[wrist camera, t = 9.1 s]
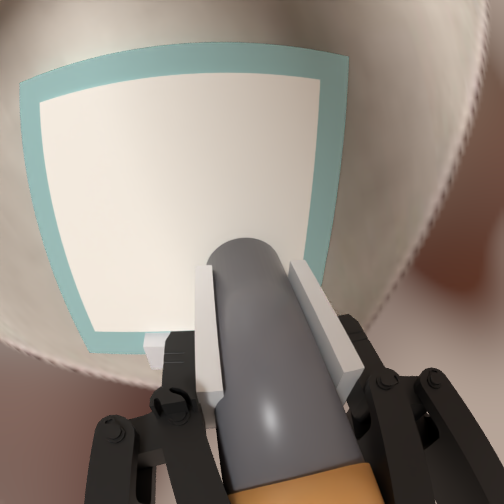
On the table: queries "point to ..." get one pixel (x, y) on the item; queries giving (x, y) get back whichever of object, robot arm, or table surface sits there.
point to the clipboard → (178, 174)
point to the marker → (277, 392)
